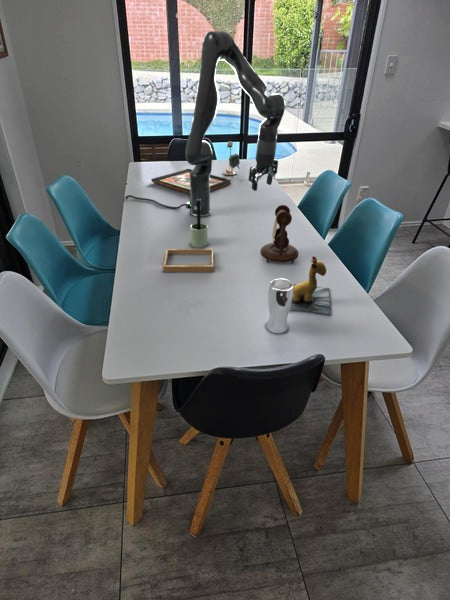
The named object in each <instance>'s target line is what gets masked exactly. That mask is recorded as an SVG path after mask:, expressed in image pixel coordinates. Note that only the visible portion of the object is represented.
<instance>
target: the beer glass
mask: <svg viewBox="0 0 450 600" xmlns="http://www.w3.org/2000/svg"><path fill="white" fill-rule="evenodd" d="M293 284H294V283H293V282H292V281H291V280H288V279H287V278H276V279H272V281H270V283H269V287H268V288H269V289H268V296H267V305H268V315H269V316H268V320H267V324H266V328H267V329H268V331H270V332H271V333H274V334H283V333H285V332H287V330H288V317H289V313H290V311H291V309H290V308H291V305H292V300H293V287H294V285H293Z"/></svg>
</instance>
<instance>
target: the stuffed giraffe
mask: <svg viewBox="0 0 450 600" xmlns="http://www.w3.org/2000/svg"><path fill="white" fill-rule="evenodd" d="M317 274H318V275H320V276H321V277H324V276H325V275H326V274H327V268H326V265H325V263H324V262H323V261H321V260H318V258H317V257H316V256H315V255H313V256H312V257H311V265H310V268H309V271H308V280H306V281H303V282H300V283H297V284H294V283H293V285H294V287H293V300H292V305H291V308H290V310H292V311H304V312H310V313H318V314H324V315H330V316H331V303H330V301H331V299H330V292H329V291H330V289H329V287H318V280H317V276H316V275H317Z"/></svg>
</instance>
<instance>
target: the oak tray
mask: <svg viewBox="0 0 450 600" xmlns="http://www.w3.org/2000/svg"><path fill="white" fill-rule="evenodd" d="M169 255H211V264H168V259H169ZM162 267H163V272H164V273H214V249H213V248H166V251H165V256H164V261H163V266H162Z"/></svg>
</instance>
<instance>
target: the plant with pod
mask: <svg viewBox="0 0 450 600" xmlns="http://www.w3.org/2000/svg"><path fill="white" fill-rule="evenodd" d="M233 144H234V142H233V141H231V140H228V142H227V144H226V149H228V148H229V158H228V163H229V168H226V169H225V171H224V170H223V172H222V173H223V174H224V175H225V176H226V175H227V176H230V175H235V174H237V172H235V171H234V169H235V168H236V167H237V168H238V170H241V168H240V166H239V165H240V161H241V160H240V154H238V153H234V154H232V148H233Z"/></svg>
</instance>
